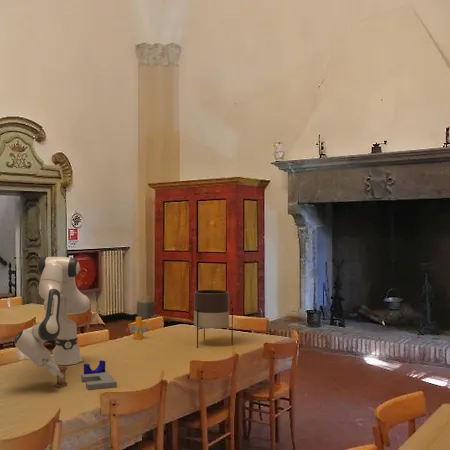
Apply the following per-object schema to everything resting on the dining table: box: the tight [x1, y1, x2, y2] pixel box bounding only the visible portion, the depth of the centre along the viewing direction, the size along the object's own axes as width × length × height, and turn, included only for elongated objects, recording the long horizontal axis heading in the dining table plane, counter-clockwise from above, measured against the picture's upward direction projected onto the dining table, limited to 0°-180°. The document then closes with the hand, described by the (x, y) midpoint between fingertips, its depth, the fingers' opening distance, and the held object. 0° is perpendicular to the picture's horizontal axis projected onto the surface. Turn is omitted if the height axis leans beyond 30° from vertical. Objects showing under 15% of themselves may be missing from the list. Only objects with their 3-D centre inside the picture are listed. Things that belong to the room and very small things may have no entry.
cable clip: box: [83, 359, 106, 375], centre depth 316 cm, size 12×4×6 cm, turn 141°
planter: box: [193, 289, 234, 349], centre depth 393 cm, size 26×25×35 cm
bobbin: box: [54, 365, 68, 388], centre depth 292 cm, size 6×6×9 cm
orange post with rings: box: [129, 316, 148, 340], centre depth 412 cm, size 12×10×15 cm
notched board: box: [80, 371, 118, 391], centre depth 297 cm, size 20×14×2 cm
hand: (62, 375), depth 292 cm, fingers closed on bobbin, 4 cm apart
